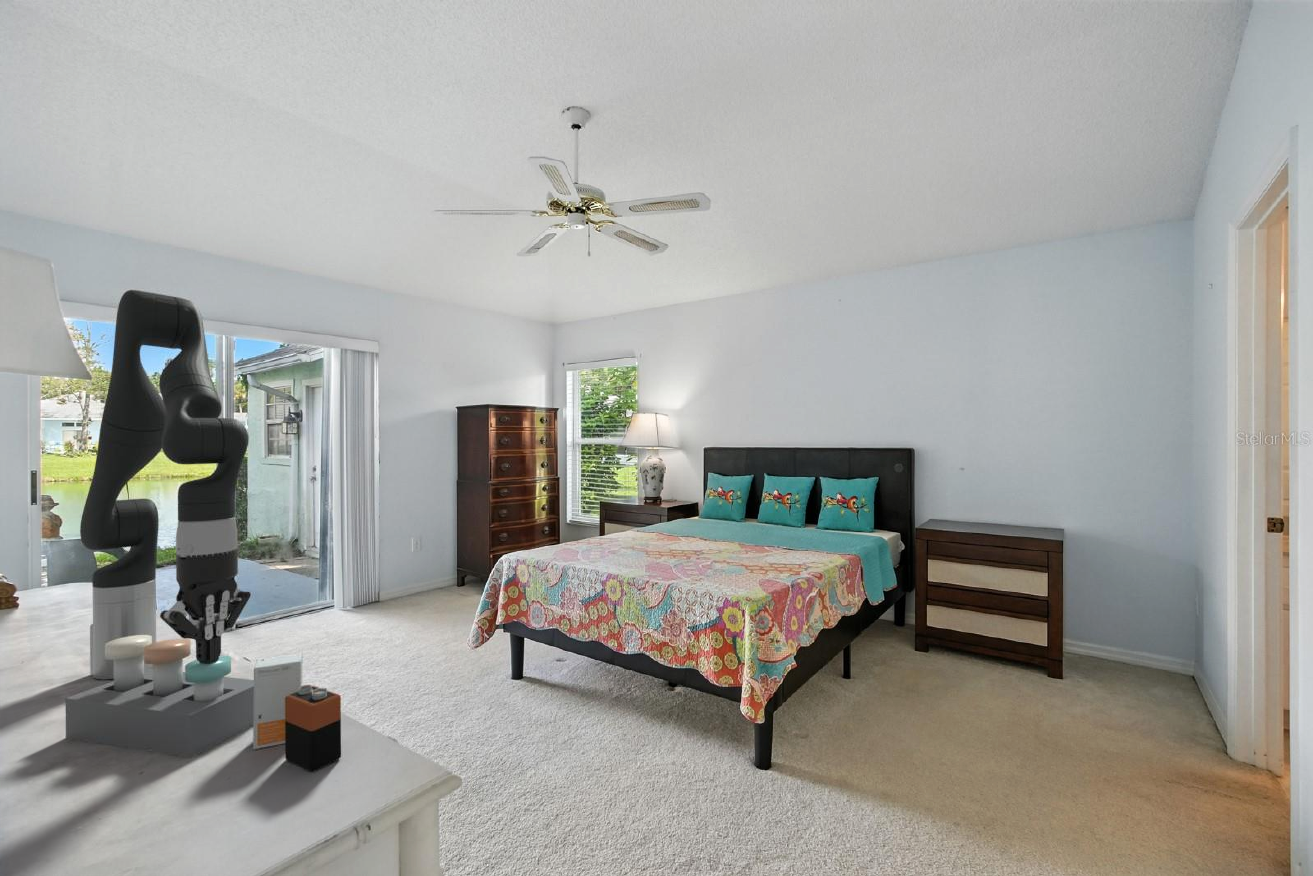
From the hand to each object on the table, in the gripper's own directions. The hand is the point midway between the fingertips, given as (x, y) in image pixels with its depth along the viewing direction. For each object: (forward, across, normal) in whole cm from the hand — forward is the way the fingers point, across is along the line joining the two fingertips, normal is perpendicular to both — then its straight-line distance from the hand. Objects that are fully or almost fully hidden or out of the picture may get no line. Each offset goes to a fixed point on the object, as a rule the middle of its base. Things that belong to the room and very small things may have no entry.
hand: (208, 662), depth 91 cm
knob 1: (+5, 0, -16) cm, 17 cm away
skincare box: (+11, -1, +12) cm, 16 cm away
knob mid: (+5, 0, -8) cm, 10 cm away
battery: (+11, +2, +21) cm, 24 cm away
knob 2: (+7, 0, 0) cm, 7 cm away
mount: (+11, 0, -8) cm, 14 cm away
